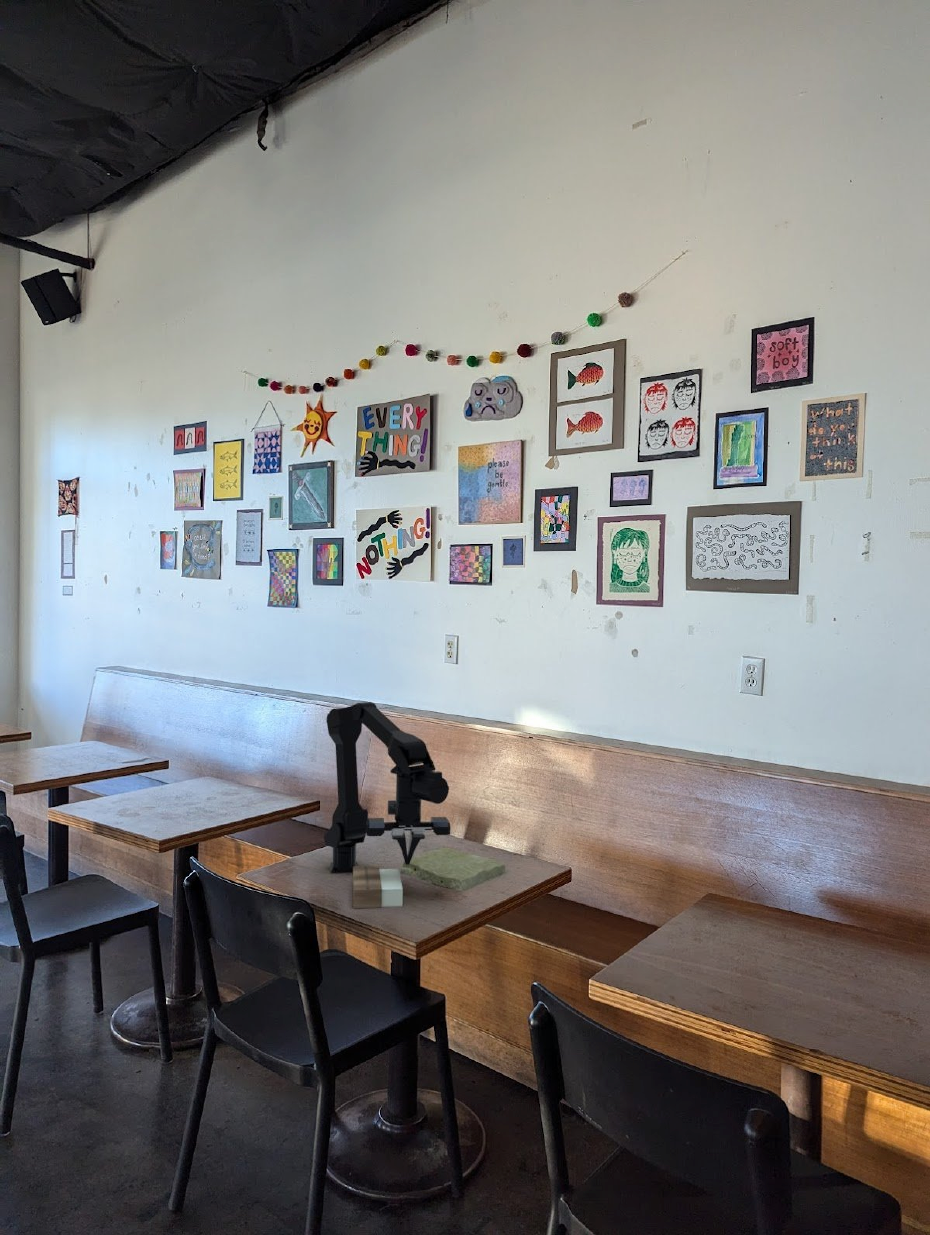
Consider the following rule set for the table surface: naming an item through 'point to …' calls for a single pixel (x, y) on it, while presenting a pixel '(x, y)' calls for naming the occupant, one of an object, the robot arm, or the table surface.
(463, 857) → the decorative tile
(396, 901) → the sage plank
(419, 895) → the table surface
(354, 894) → the walnut plank
